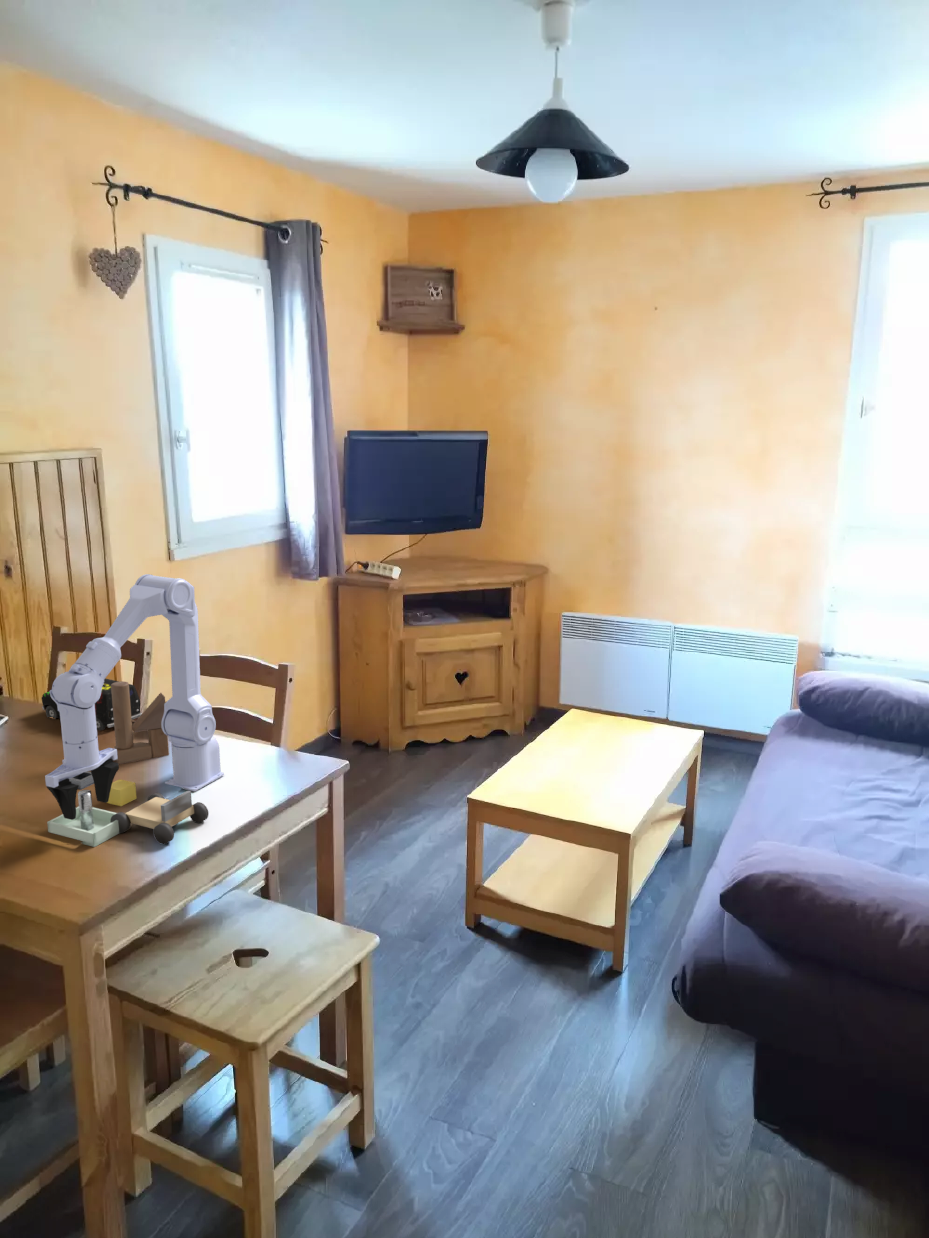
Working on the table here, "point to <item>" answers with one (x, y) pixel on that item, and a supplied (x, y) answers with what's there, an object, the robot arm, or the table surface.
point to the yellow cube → (122, 792)
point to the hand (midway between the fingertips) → (86, 809)
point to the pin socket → (82, 780)
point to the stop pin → (86, 809)
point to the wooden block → (137, 727)
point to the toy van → (98, 705)
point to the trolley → (162, 815)
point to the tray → (91, 837)
